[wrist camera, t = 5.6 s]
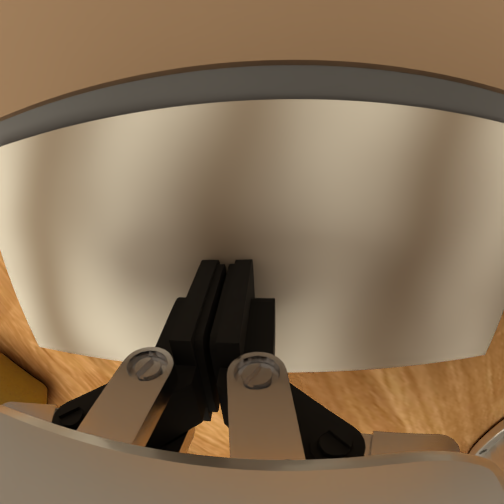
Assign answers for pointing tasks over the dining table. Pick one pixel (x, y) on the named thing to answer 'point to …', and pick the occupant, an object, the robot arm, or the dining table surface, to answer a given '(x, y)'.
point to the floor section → (243, 56)
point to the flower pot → (19, 384)
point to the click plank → (264, 227)
